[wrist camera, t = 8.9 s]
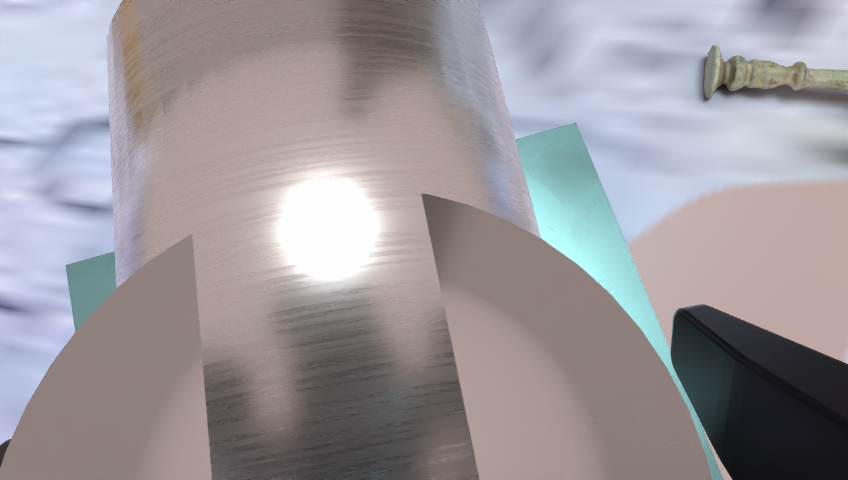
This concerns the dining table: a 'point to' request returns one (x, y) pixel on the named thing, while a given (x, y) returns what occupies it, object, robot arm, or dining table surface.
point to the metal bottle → (337, 270)
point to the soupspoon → (766, 75)
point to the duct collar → (558, 225)
